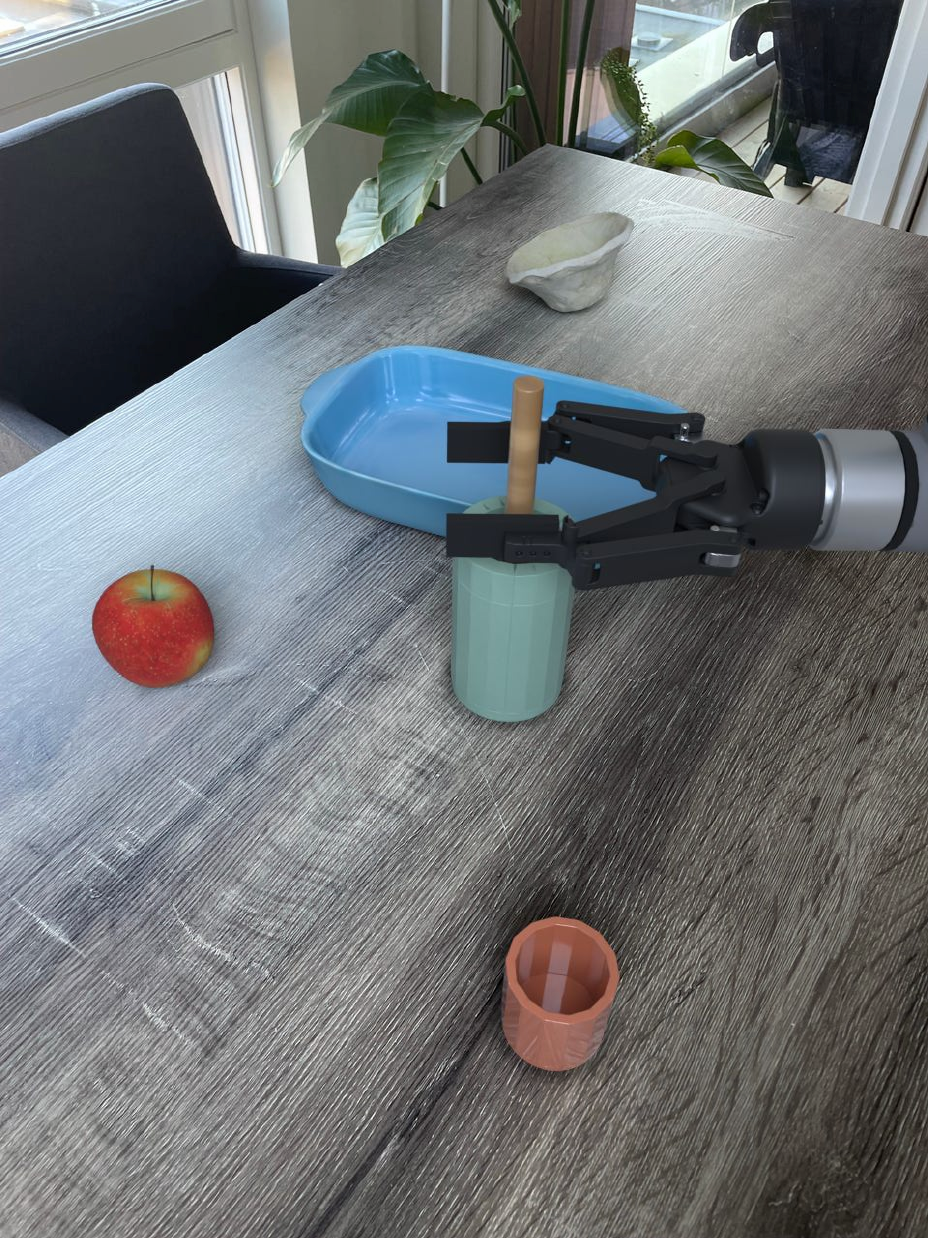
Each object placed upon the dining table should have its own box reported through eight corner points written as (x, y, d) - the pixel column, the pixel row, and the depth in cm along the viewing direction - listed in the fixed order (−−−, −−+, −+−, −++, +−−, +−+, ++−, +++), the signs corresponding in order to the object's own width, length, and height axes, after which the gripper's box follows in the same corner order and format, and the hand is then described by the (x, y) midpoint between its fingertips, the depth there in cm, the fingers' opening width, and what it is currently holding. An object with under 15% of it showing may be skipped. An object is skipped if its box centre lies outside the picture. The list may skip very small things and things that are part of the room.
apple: (101, 650, 75) (67, 549, 68) (207, 621, 78) (185, 520, 71) (121, 726, 70) (87, 625, 63) (234, 692, 73) (213, 591, 66)
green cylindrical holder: (524, 740, 70) (538, 594, 60) (428, 689, 73) (427, 542, 64) (582, 670, 75) (604, 525, 65) (490, 625, 78) (498, 480, 68)
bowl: (524, 266, 124) (529, 183, 117) (635, 285, 121) (647, 202, 114) (485, 320, 114) (488, 233, 107) (605, 343, 110) (616, 255, 103)
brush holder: (572, 1094, 53) (584, 1047, 49) (480, 1030, 55) (483, 980, 51) (624, 1006, 56) (639, 956, 52) (535, 950, 59) (542, 897, 55)
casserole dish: (723, 469, 94) (739, 403, 89) (674, 624, 79) (690, 555, 74) (365, 389, 103) (362, 325, 98) (259, 515, 87) (248, 447, 82)
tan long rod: (515, 695, 72) (539, 407, 55) (473, 674, 73) (485, 386, 56) (541, 666, 74) (572, 379, 57) (500, 645, 75) (519, 360, 59)
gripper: (839, 657, 57) (445, 654, 57) (757, 442, 72) (446, 438, 72) (880, 558, 52) (446, 553, 51) (782, 348, 67) (447, 343, 67)
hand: (446, 486), depth 62 cm, fingers open, 9 cm apart
